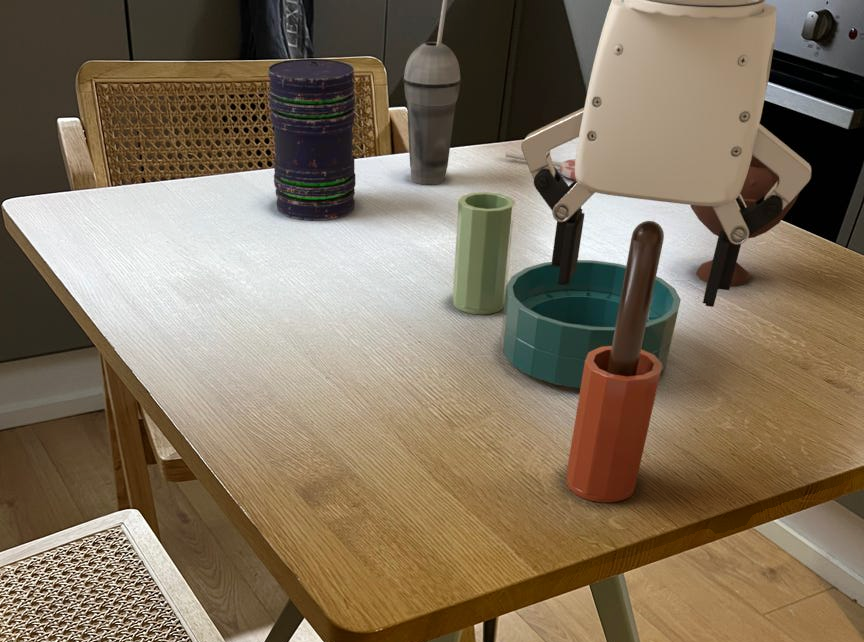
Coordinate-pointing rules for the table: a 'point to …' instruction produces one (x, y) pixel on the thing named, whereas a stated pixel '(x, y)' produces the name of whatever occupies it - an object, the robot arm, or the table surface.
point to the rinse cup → (482, 252)
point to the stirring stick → (636, 298)
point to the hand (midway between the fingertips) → (637, 287)
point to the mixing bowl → (575, 319)
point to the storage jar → (313, 137)
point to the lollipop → (565, 167)
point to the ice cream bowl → (753, 188)
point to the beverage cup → (431, 107)
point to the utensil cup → (611, 427)
